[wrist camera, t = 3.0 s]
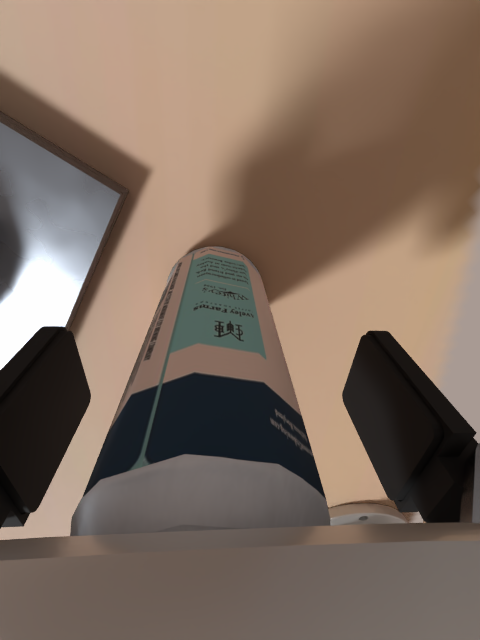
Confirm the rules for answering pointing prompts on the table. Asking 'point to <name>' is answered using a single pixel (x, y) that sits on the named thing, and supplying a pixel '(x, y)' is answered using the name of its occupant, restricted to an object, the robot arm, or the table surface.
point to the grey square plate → (47, 233)
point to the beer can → (206, 417)
